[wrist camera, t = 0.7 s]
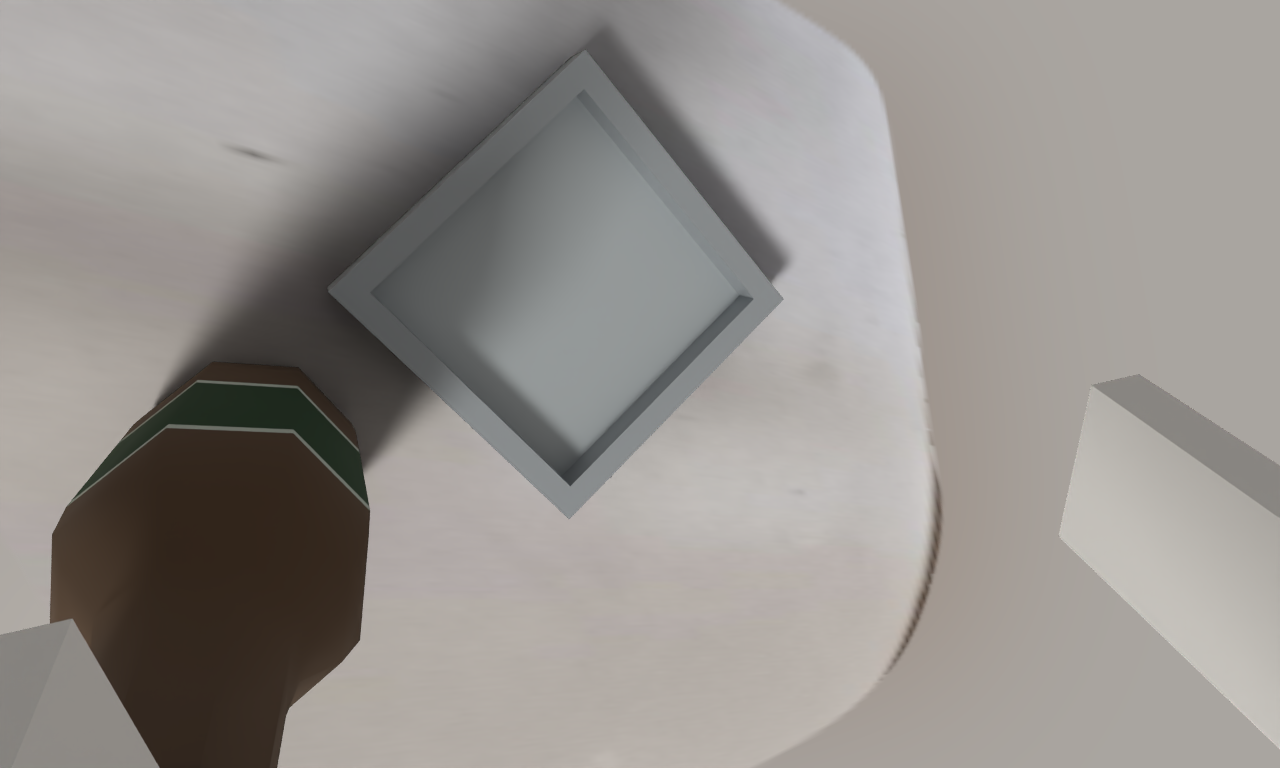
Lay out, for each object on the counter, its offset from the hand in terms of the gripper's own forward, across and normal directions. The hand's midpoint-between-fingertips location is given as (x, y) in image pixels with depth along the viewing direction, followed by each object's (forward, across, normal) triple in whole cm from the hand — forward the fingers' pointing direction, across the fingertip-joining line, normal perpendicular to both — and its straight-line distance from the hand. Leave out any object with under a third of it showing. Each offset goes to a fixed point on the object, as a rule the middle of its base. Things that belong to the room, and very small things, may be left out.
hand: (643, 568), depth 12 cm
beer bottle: (+22, -10, -10) cm, 26 cm away
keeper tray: (+24, +2, -7) cm, 26 cm away
